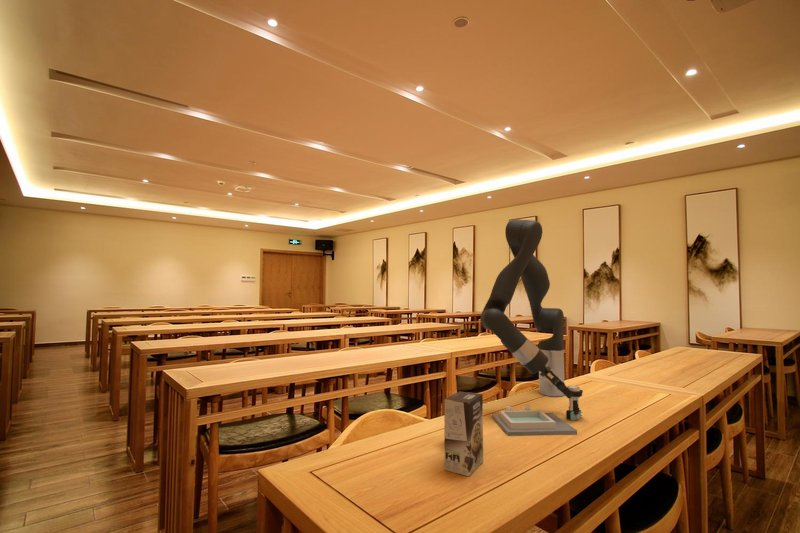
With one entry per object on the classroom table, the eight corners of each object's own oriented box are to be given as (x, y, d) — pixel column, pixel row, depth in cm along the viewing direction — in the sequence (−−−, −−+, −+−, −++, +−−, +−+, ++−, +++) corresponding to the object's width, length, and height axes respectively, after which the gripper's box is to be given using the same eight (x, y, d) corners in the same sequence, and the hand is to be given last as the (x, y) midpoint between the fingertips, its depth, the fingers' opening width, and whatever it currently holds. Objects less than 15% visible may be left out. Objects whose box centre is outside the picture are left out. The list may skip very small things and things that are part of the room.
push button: (574, 414, 129) (573, 383, 130) (589, 419, 125) (588, 387, 125) (561, 418, 126) (560, 386, 126) (576, 423, 121) (575, 389, 122)
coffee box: (470, 477, 87) (469, 402, 88) (443, 470, 90) (443, 398, 91) (484, 461, 95) (483, 393, 96) (459, 455, 98) (459, 389, 99)
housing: (491, 416, 127) (491, 404, 127) (552, 415, 128) (552, 403, 128) (507, 435, 111) (507, 421, 111) (577, 434, 112) (576, 419, 112)
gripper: (542, 351, 121) (583, 390, 119) (533, 344, 135) (569, 379, 133) (525, 368, 121) (565, 407, 119) (517, 359, 135) (553, 395, 133)
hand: (567, 392), depth 126 cm, fingers open, 8 cm apart
